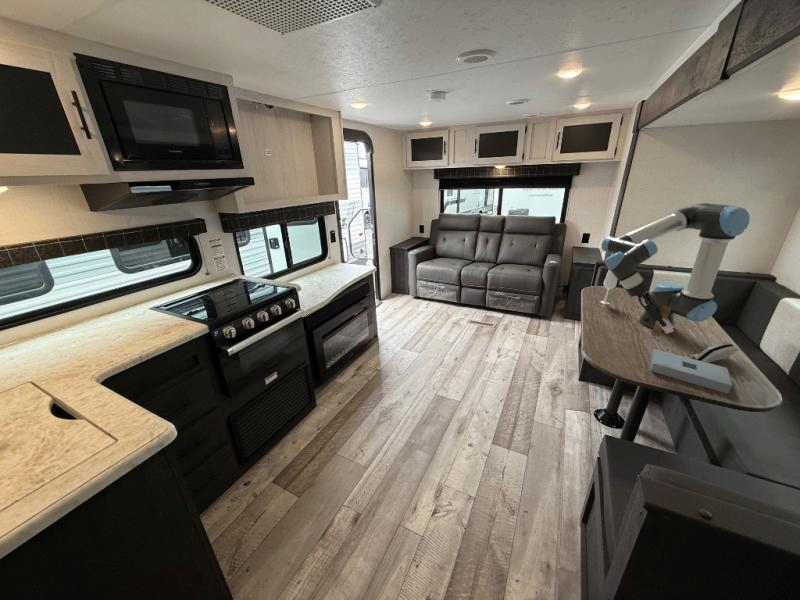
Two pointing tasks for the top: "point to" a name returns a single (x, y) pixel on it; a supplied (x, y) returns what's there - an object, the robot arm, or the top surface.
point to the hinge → (716, 352)
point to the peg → (657, 328)
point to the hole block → (691, 371)
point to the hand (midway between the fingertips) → (670, 330)
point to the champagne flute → (609, 284)
